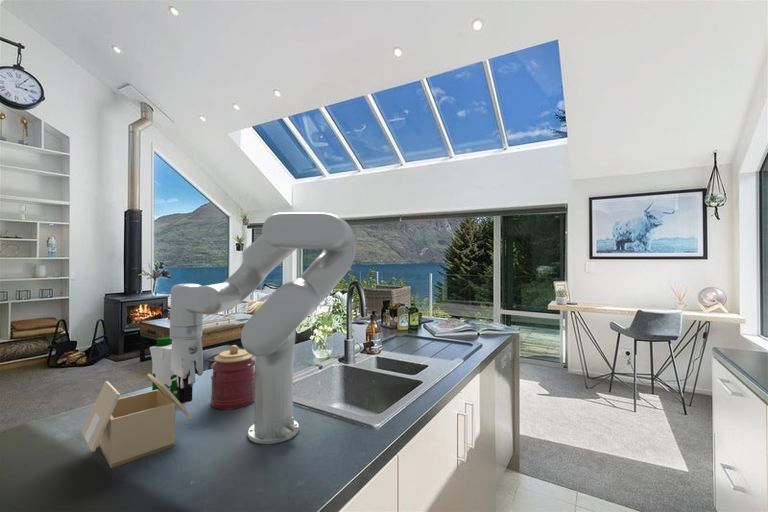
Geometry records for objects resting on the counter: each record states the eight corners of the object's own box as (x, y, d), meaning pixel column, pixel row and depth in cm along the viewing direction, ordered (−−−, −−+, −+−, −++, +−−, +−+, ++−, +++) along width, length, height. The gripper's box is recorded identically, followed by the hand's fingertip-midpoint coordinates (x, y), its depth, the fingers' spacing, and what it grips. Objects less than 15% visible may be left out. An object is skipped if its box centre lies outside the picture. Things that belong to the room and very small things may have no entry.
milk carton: (168, 396, 118) (168, 334, 118) (192, 398, 116) (193, 336, 116) (145, 407, 109) (146, 340, 109) (171, 410, 107) (172, 342, 107)
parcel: (174, 446, 87) (175, 403, 87) (111, 468, 78) (111, 420, 78) (157, 428, 96) (157, 389, 96) (98, 446, 87) (98, 403, 87)
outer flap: (120, 394, 80) (116, 394, 79) (94, 451, 76) (90, 451, 76) (108, 381, 88) (104, 381, 87) (84, 432, 85) (80, 432, 84)
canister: (238, 412, 106) (238, 352, 106) (200, 407, 110) (201, 348, 110) (263, 396, 119) (264, 342, 119) (229, 392, 122) (230, 339, 122)
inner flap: (190, 419, 90) (193, 416, 91) (162, 386, 86) (165, 384, 86) (174, 405, 98) (176, 403, 99) (147, 375, 94) (149, 373, 94)
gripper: (213, 334, 93) (211, 406, 93) (190, 325, 103) (189, 390, 103) (181, 338, 87) (179, 415, 87) (160, 328, 98) (159, 397, 98)
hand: (184, 401), depth 95 cm, fingers closed
